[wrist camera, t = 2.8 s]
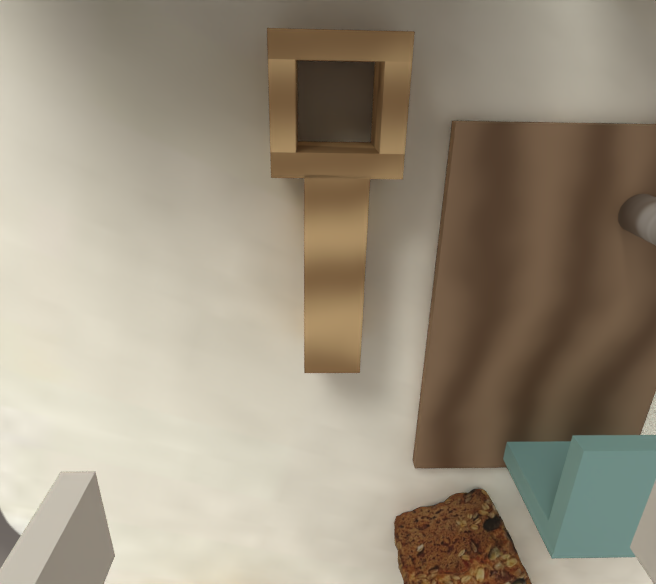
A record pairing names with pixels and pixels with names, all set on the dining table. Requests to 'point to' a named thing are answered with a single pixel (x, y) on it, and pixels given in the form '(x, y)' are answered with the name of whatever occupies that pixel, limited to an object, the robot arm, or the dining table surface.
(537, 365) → the pintle board
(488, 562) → the bread
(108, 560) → the robot arm
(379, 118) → the wooden square socket bar
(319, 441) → the dining table surface
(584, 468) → the block
